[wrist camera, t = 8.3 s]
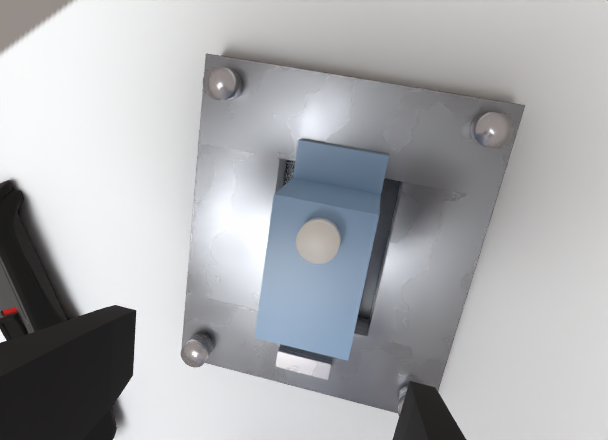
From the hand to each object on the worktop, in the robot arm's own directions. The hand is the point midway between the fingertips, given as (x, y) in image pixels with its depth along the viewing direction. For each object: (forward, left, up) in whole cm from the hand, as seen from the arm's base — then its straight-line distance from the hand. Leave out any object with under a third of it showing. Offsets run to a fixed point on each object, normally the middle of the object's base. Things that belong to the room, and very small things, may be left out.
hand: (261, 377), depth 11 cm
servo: (+1, 0, -9) cm, 9 cm away
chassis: (+1, 0, -9) cm, 9 cm away
